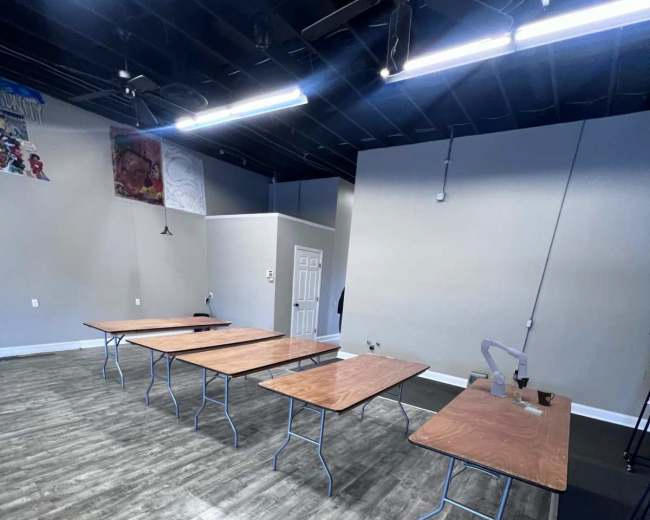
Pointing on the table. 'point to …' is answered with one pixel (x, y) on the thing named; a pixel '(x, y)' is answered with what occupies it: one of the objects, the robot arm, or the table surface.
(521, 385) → the robot arm
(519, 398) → the turner
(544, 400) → the coffee mug
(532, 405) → the mat
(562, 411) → the table surface
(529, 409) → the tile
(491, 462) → the table surface
